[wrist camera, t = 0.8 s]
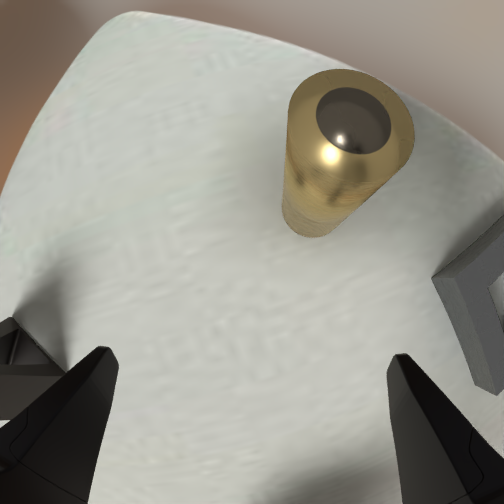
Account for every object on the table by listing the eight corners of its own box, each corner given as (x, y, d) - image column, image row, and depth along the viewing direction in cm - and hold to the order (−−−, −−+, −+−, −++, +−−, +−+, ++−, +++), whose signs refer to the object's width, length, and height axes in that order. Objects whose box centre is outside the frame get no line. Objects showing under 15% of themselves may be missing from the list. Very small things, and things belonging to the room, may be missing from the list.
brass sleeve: (352, 218, 22) (437, 146, 9) (302, 249, 22) (339, 206, 9) (320, 168, 22) (362, 54, 9) (270, 197, 22) (262, 97, 9)
